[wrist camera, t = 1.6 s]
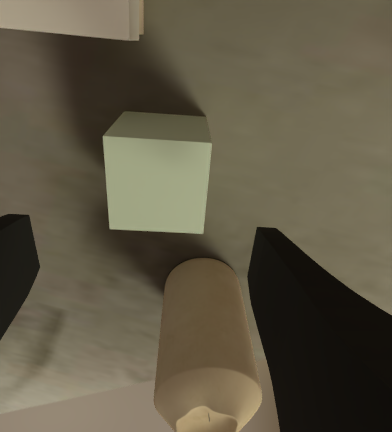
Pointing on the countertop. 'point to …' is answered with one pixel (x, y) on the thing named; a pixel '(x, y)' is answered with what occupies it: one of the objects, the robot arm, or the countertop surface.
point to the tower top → (74, 17)
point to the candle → (205, 351)
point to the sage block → (157, 172)
